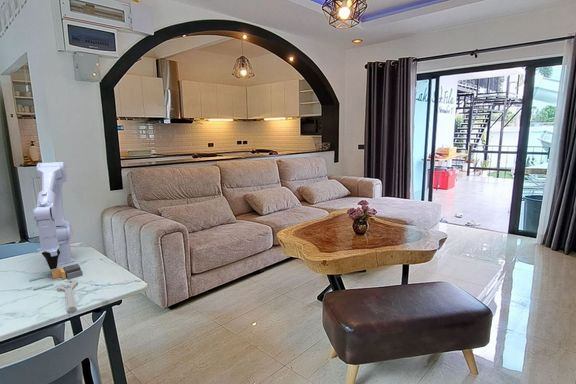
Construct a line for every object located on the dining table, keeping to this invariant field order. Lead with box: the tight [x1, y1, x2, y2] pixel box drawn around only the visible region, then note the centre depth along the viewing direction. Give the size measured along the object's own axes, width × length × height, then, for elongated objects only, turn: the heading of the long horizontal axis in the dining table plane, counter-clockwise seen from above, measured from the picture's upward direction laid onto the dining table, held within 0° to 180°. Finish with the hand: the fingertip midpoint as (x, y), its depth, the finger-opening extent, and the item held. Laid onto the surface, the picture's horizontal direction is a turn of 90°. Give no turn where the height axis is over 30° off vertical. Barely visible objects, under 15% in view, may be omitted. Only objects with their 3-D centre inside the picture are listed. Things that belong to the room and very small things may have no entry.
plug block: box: [63, 263, 82, 279], centre depth 134 cm, size 5×5×4 cm
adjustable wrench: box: [56, 279, 79, 314], centre depth 116 cm, size 25×6×2 cm, turn 31°
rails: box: [28, 274, 54, 292], centre depth 127 cm, size 11×6×1 cm, turn 44°
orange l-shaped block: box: [51, 267, 67, 280], centre depth 131 cm, size 5×4×3 cm
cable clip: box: [62, 267, 83, 281], centre depth 134 cm, size 8×5×2 cm, turn 44°
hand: (53, 268), depth 134 cm, fingers closed
